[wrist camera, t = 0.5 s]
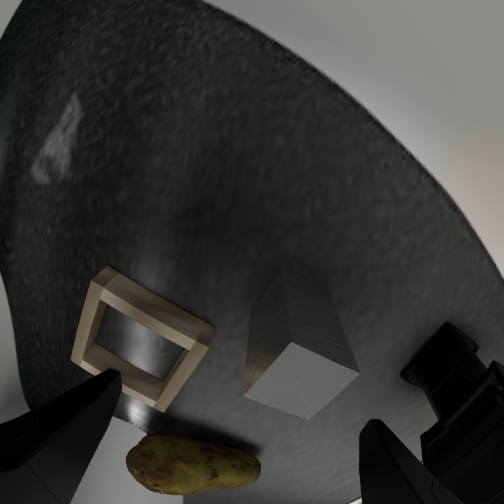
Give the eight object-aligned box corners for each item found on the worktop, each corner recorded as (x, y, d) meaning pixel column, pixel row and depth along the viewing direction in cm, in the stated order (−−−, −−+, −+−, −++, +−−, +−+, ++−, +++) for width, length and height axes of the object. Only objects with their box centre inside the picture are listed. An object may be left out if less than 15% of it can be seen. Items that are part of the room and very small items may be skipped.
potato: (220, 470, 29) (213, 523, 22) (131, 420, 26) (108, 478, 19) (270, 450, 27) (270, 512, 19) (174, 392, 24) (151, 464, 17)
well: (214, 326, 21) (209, 347, 19) (170, 392, 24) (163, 412, 22) (107, 265, 20) (91, 280, 18) (83, 343, 23) (70, 360, 20)
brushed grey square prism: (329, 294, 20) (360, 373, 13) (296, 335, 21) (308, 420, 14) (281, 266, 19) (291, 341, 12) (250, 311, 21) (243, 395, 13)
